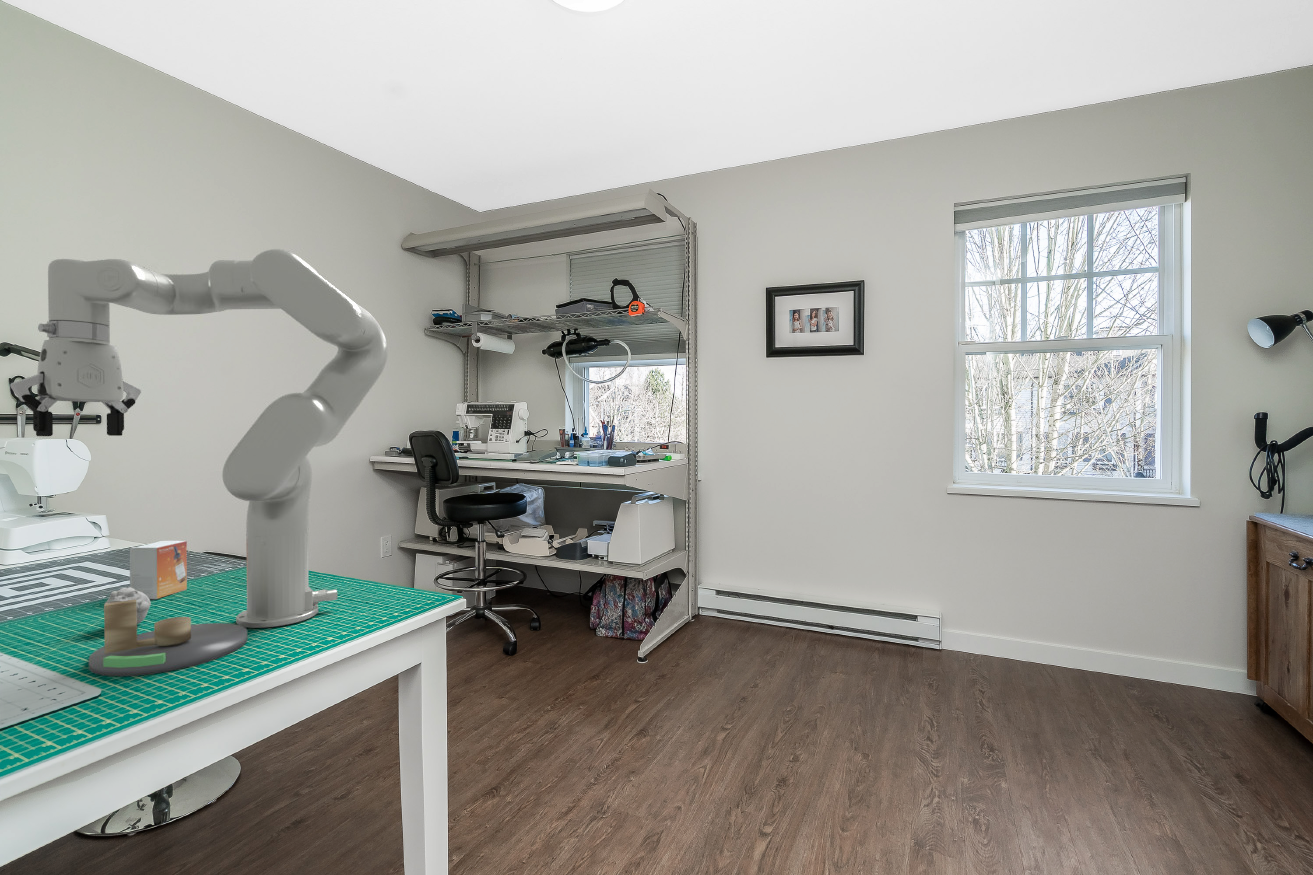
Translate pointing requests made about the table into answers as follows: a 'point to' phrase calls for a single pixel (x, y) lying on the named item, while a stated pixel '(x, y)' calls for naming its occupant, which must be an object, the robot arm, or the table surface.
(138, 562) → the small box
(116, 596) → the grey rounded lump
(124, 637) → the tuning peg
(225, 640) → the dial face
